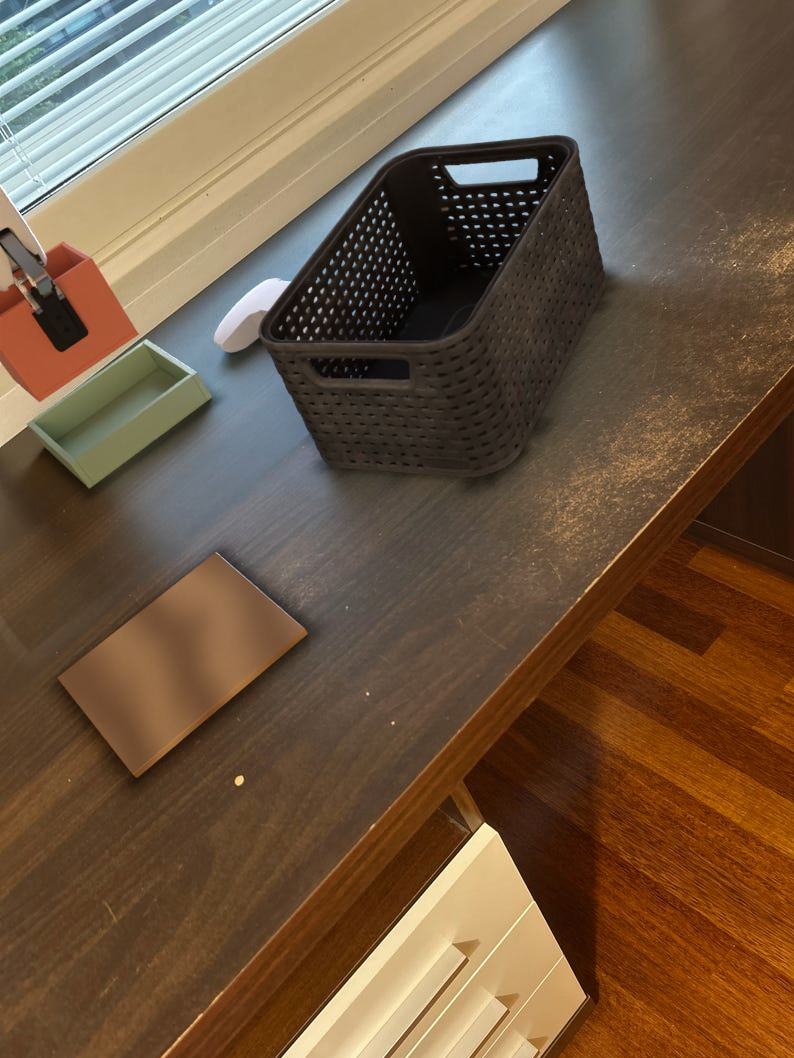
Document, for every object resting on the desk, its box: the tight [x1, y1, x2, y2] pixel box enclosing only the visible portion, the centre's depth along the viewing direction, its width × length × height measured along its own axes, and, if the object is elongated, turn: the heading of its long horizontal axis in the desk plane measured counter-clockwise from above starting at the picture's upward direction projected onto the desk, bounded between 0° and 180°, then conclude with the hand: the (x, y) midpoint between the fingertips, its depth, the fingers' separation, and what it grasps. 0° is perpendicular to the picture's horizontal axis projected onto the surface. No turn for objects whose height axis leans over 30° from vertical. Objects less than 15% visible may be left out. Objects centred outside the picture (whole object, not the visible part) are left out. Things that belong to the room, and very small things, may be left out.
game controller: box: [213, 277, 351, 361], centre depth 102 cm, size 14×4×10 cm
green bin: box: [26, 338, 213, 489], centre depth 100 cm, size 15×11×4 cm
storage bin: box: [258, 134, 608, 478], centre depth 87 cm, size 29×19×13 cm
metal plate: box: [57, 551, 309, 779], centre depth 79 cm, size 16×14×1 cm
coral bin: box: [0, 241, 140, 403], centre depth 92 cm, size 11×6×8 cm, turn 132°
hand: (57, 329), depth 93 cm, fingers closed on coral bin, 6 cm apart
